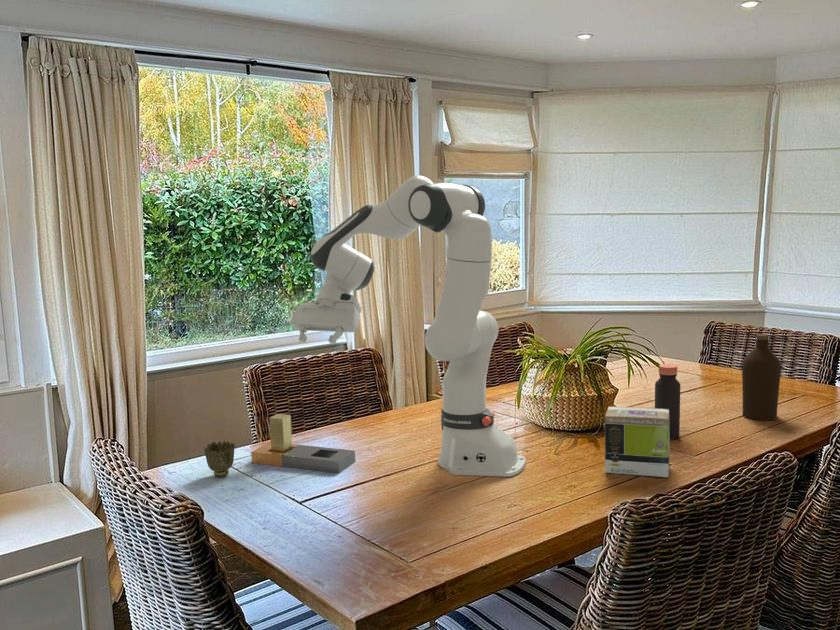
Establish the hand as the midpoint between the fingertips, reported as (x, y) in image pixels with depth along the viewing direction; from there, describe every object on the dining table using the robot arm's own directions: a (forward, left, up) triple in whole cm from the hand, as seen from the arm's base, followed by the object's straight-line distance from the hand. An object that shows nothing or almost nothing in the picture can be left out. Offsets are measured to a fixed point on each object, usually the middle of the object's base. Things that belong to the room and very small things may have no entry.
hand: (316, 341), depth 211 cm
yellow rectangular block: (+3, +15, -29) cm, 33 cm away
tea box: (-86, -5, -30) cm, 91 cm away
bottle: (-91, -35, -30) cm, 102 cm away
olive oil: (-116, -62, -30) cm, 135 cm away
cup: (+12, +30, -30) cm, 44 cm away
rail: (-3, +15, -29) cm, 33 cm away
